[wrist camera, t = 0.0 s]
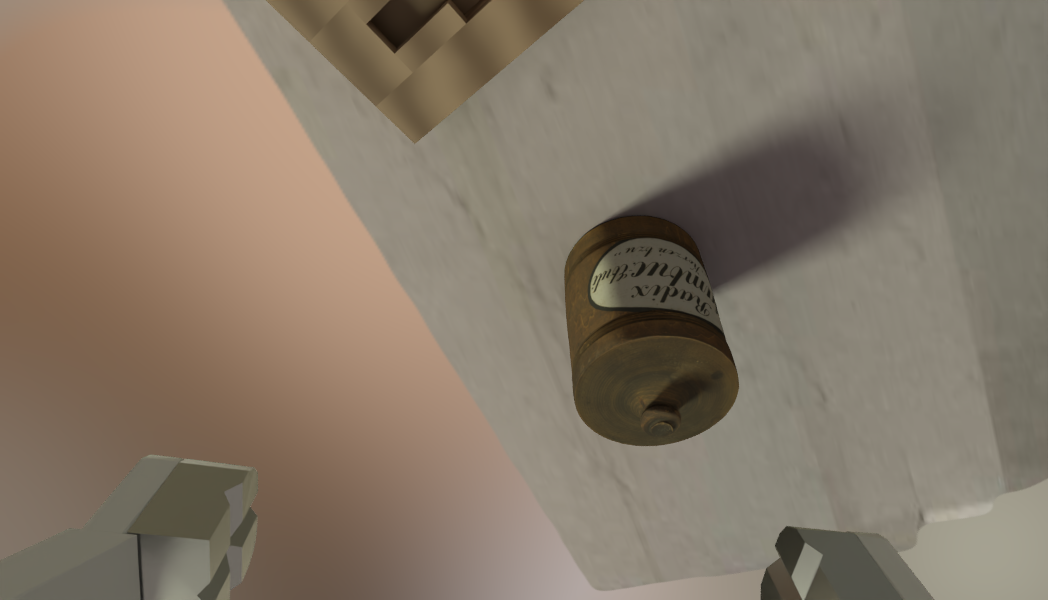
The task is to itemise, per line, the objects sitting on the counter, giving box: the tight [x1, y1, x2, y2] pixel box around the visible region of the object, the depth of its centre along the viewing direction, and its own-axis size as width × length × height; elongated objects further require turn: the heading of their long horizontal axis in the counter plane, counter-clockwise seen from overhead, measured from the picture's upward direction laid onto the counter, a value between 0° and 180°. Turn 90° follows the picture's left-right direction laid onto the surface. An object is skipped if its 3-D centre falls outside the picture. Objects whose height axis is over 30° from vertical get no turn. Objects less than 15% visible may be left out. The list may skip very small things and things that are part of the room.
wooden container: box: [565, 216, 739, 446], centre depth 64 cm, size 15×15×22 cm
